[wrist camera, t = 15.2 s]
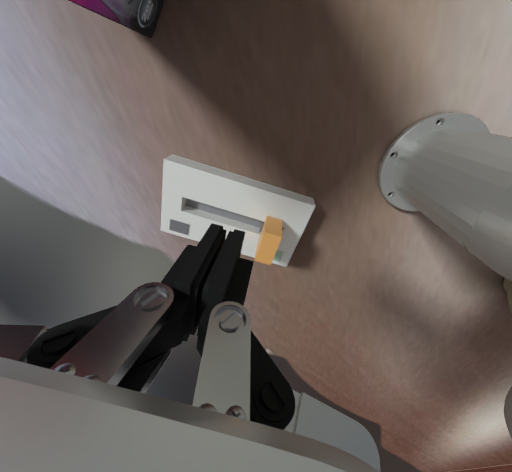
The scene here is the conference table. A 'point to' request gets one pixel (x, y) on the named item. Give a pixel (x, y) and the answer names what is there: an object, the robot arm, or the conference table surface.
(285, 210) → the slider switch
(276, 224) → the orange slider handle
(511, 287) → the planter bowl
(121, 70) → the conference table surface
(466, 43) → the conference table surface
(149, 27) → the graphics card box
